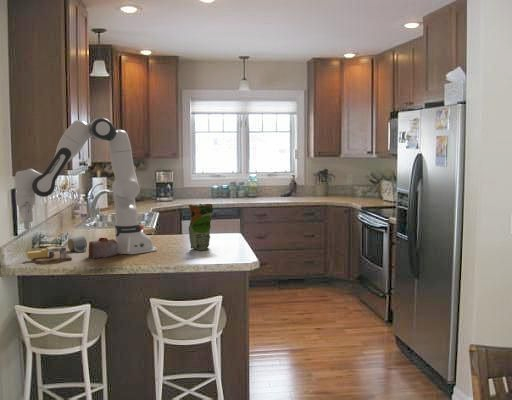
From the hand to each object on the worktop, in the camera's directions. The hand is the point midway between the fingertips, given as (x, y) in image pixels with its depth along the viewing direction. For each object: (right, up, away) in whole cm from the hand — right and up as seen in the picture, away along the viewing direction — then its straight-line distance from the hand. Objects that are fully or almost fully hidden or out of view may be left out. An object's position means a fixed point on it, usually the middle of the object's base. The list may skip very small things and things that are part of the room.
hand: (26, 229), depth 275 cm
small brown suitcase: (+36, -14, +6) cm, 40 cm away
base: (+13, -15, -1) cm, 20 cm away
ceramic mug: (+19, -13, +21) cm, 31 cm away
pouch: (+84, -12, +23) cm, 88 cm away
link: (+9, -14, -2) cm, 16 cm away
